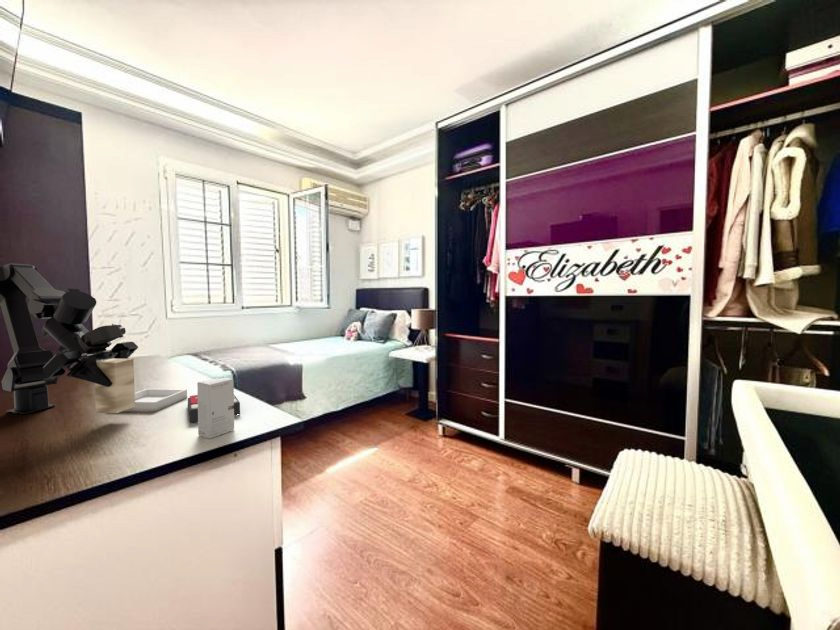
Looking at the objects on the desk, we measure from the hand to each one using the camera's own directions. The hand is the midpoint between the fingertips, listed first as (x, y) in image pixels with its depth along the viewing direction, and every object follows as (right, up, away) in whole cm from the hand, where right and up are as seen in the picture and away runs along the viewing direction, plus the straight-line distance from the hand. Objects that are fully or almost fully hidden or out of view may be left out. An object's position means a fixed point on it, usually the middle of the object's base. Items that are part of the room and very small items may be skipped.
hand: (120, 382), depth 81 cm
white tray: (-4, -9, +14) cm, 17 cm away
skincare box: (+26, -11, -4) cm, 28 cm away
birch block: (-1, -7, 0) cm, 7 cm away
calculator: (+17, -10, +10) cm, 22 cm away
